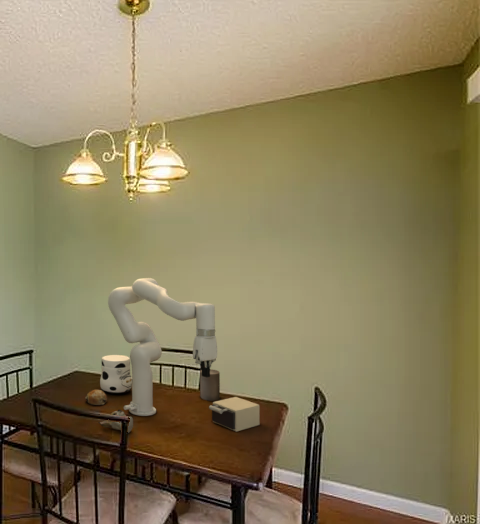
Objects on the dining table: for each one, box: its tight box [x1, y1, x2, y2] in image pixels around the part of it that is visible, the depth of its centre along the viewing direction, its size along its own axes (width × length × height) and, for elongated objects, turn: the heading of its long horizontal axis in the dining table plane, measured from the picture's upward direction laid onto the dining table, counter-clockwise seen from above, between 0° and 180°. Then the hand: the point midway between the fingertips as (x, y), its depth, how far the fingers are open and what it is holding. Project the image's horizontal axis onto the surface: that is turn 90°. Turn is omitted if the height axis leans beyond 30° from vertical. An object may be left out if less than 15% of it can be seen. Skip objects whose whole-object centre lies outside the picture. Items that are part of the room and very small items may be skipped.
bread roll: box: [85, 389, 108, 406], centre depth 213 cm, size 10×10×8 cm
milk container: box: [99, 354, 132, 395], centre depth 231 cm, size 17×17×18 cm
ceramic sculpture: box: [98, 409, 134, 434], centre depth 178 cm, size 11×9×15 cm
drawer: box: [208, 404, 235, 430], centre depth 183 cm, size 18×11×8 cm, turn 120°
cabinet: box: [212, 396, 261, 433], centre depth 185 cm, size 15×13×9 cm
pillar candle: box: [199, 368, 221, 402], centre depth 219 cm, size 10×10×15 cm
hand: (205, 376), depth 178 cm, fingers closed
